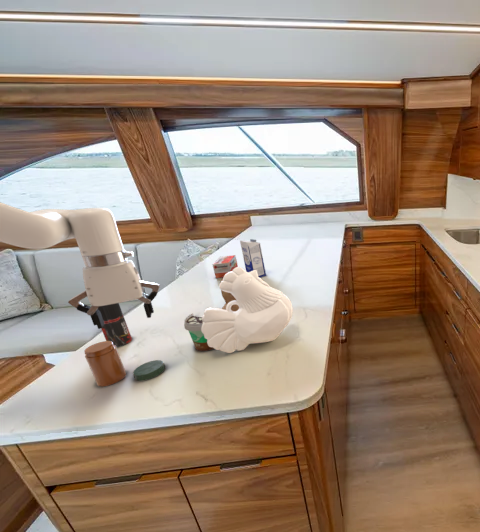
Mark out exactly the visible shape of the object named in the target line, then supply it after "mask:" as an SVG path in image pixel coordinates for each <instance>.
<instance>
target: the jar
mask: <svg viewBox="0 0 480 532" xmlns="http://www.w3.org/2000/svg"><path fill="white" fill-rule="evenodd" d="M84 355H85V356H84V358H85V360H86V362H87V364H88V365H87V366H88V367H89V369H90V372H91V374H92V376H93V378H94V381H95V383H96V386H97V387H102V388H103V387H108V386H111V385H114V384H116V383H119V382H121V381H122V380H123V379H125V377H126V376H127V372H126V368H125V366H124V364H123V361H122V358H121V356H120V354H119V351H118V347H116V346H115V345H113V342H112V341H106V340H104V341H100V342H96V343H94V344H92V345H91V344H90V345H89V346H87V347H86V348H85V349H84Z"/></svg>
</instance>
